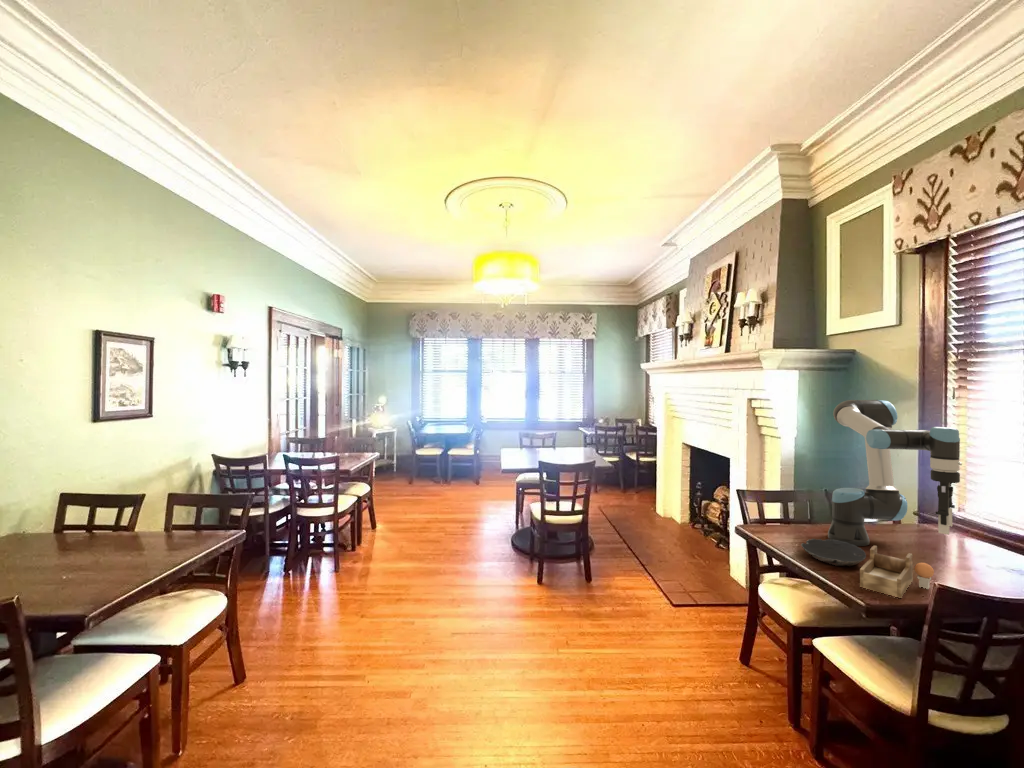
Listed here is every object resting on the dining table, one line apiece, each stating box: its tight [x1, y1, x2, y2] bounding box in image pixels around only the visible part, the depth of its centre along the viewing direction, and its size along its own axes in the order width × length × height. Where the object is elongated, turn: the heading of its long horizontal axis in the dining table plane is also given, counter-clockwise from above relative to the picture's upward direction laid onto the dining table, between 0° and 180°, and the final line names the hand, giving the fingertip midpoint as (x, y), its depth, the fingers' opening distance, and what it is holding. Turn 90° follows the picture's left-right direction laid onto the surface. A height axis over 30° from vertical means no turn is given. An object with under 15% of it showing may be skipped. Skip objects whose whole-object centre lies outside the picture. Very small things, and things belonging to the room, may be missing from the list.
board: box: [801, 538, 867, 567], centre depth 179 cm, size 22×22×5 cm
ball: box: [914, 562, 935, 578], centre depth 155 cm, size 5×5×5 cm
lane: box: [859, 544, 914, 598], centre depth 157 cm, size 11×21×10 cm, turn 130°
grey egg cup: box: [916, 574, 932, 590], centre depth 155 cm, size 3×3×4 cm
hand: (945, 529), depth 158 cm, fingers open, 13 cm apart
